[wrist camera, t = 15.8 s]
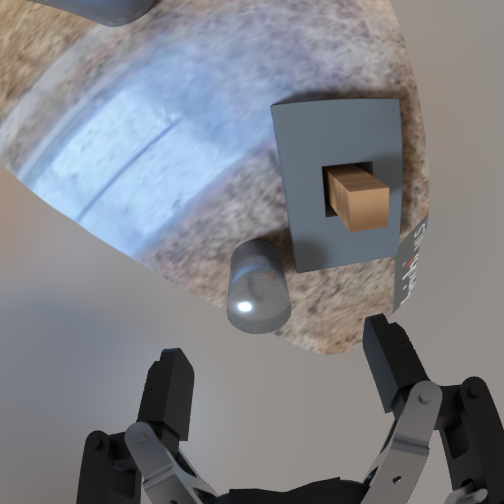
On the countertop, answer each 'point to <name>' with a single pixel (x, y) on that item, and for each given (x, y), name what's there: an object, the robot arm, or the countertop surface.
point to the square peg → (356, 196)
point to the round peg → (257, 288)
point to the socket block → (333, 153)
